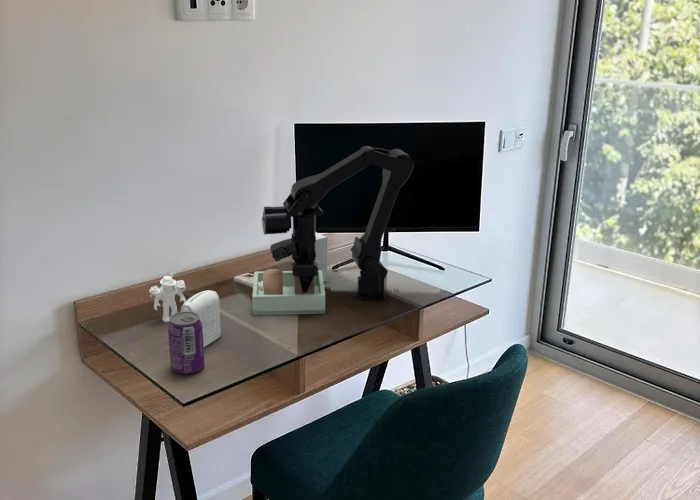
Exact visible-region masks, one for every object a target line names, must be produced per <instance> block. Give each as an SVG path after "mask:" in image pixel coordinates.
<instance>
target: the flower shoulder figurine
mask: <svg viewBox="0 0 700 500" xmlns="http://www.w3.org/2000/svg"><path fill="white" fill-rule="evenodd" d="M176 273H177V269H174V271H172V272H169V275H164V276H163V277H162V278H161V279H160V282H159V283H160V284H161V285H160V286H159V287H158V285H155V284H154V286H151V287H150V289H149V290H148V291H149V295H150V296H149V297H150V298H152V297H153V296H155V297H154V302H153V303H154V304H153V308H154V311H158V310H159V309H158V306H159V307H161V304H160V302H159V301H160V300H161V301H162V309H163V311H162V312H163V313H162V321H163V322H165V323H168V322H170V317H171V316H172V315H173V314H175V313H178V312H179V311H178V306H177V303H176V295H178V297H180V298H179V303H182V302H183V304H184V303H185V302H186V301H187V299H186V297H185V295H184V294H183V292H184V291H185V290H186V289H187V286H186V283H185V281H184V280H183V279H180V280H179V279H178V280H176V279H174V278H173V277H175V276H174V275H176ZM170 309H171V312H170Z"/></svg>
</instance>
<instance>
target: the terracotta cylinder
mask: <svg viewBox="0 0 700 500" xmlns="http://www.w3.org/2000/svg"><path fill="white" fill-rule="evenodd" d="M282 271H283V270H281V269H278V268H268V269H266V270H264V272H263V290H264V295H283V272H282Z"/></svg>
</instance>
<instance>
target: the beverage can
mask: <svg viewBox="0 0 700 500" xmlns="http://www.w3.org/2000/svg"><path fill="white" fill-rule="evenodd" d="M177 312H178V313H175V314H173V315H172V316H171V315H170V316H169V317H170V322H169V323H168V324H167V335H168V345H169V347H168V348H169V358H170V368H171V370H172V371H174V372H176V373H179V374H187V375H188V374H193V373H196V372H198V371H200V370H201V369H203V367H204V366H205V350H204V348H205V347H204V346H203V330H202V322H201V321H200V317H199V315H198V314H197V313H195V312H189V311H184V312H181V311H177Z"/></svg>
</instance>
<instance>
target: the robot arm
mask: <svg viewBox="0 0 700 500" xmlns="http://www.w3.org/2000/svg"><path fill="white" fill-rule="evenodd" d="M369 166H373V167H377V168H380V169H382V181H381V182H382V183H381V186H380V189H379V192H378V194H377V197H376V201H375V203H374V207H373V209H372V212H371V213H370V214H371V215H370V218H369V221H368V224H367V226H366V229H365V232H364V233H363V235H362V236H361V237H358V236H355V237H354V240H353V244H352V247H351V248H350V251H351V258H352V260H353V261H354V263H355V264H356V266H357V267H358V269H359V270H360V271H359V276H357V287H356V288H357V289H356V290H357V294H358V295H359V298H360V300H378V299H382V300H383V299H386V295H385V280H386V277H387V275H388V272H389V271H388V270H387V268H386V267H385V265H383V262H381V254H382V239H383V237H384V233H385V230H386V227H387V225H388V222H389V219H390V216H391V213H392V210H393V208H394V206H395V203H396V199H397V197H398V194H399V191H400V189H401V188H402V187H403V186H404V185H405V183H406V182H407V181H408V179H409V178H410V176H411V174H412V172H413V170H414V166H415V162H414V160H413V158H412V157H411V156H410V155H409V154H407V153H406V152H404V151H403V150H402V149H399V148H394V149H391V150H388V149H384V148H377V147H372V146H369V145H363V146H362V147H360V149H359V150H356V151H355V152H354V153H352V154H350V155H348V156H347V157H345V158H344V159H342V160H341V161H339V162H337V163H335V164H333V165H332V166H331V167H329V168H327V169H326V170H323V171H322V172H320V173H319V174H316V175H314V174H313V175H311V176H307V177H305V178H302V179H300V180H297V181H295V182H294V183H293V184H292V185H291V189H290V193H289V194H288V196H287V197H286V199H285V200H284V202H283V203H282V205H283V206H264V207H263V212H262V217H261V223H262V224H261V226H262V232H263V235H277V234H287V233H288V232H290V230H291V229H292V233H291V238H287V239H284V240H280V241H277V242H275V243H273V244H271V245H270V249H269V250H270V253H271V255H272V256H271V257H272V258H273V259H274V262H280V261H281V260H283V259H287V258H288V257H290V256H291V259H292V271H293V276H299V279H300V283H301V288H302V292H307V291H308V289H309V287H310V284H311V282H312V280H313V278H314V276H317V275H318V264H317V262H316V261H315V259H316V258H315V257H316V251H315V249H316V232H317V231H316V223H317V220H316V217H317V216H323V215H324V213H325V212H324V211H323V209H322V208H321V207H319V205H318V203H319V202H320V201H321V200H323V198H324V197H325V196H326V195H327V193H328V192H329V191H330V190H332V189H333V188H334V187H337V186H338V185H339V184H341V183H343V182H345V181H346V180H348V179H350V178H351V177H352V176H354V175H356V174H357V173H359V172H361V171H362V170H363V169H366V168H368V167H369ZM293 260H294V262H293Z"/></svg>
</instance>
